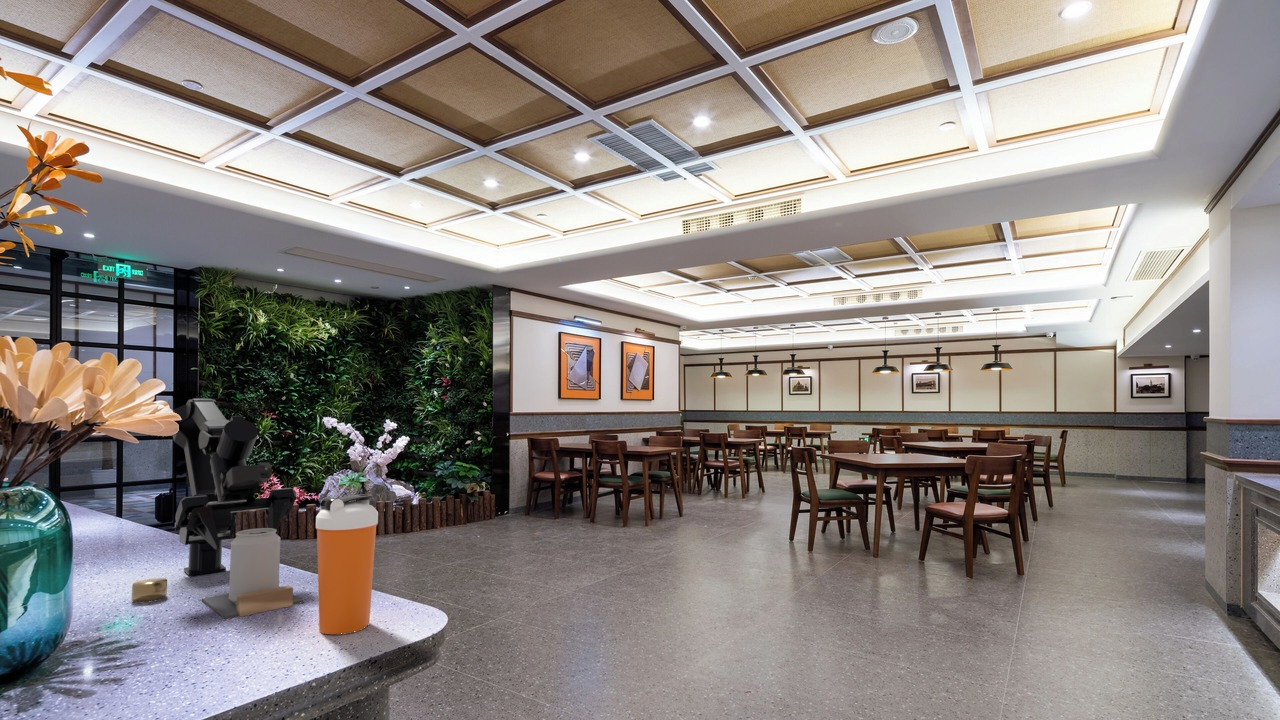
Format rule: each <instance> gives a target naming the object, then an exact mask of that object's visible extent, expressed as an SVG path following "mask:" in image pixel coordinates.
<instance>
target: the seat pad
mask: <svg viewBox="0 0 1280 720" xmlns="http://www.w3.org/2000/svg"><path fill="white" fill-rule="evenodd" d="M201 602H202V603H204V605H206V606H208V607H209V608H210V609H211V610H213V611H214V612H216V613H217V614H218V615H219V616H221V617H222V618H223V619H225V620H226V619H231V618H235V617H240V616H239V613H238V612H236V604H235V603H234V602H232V601H231V600H230V599H229V593H225V594H220V595H215V596H209V597H202V598H201ZM300 602H303V603H304V602H305V600H304V599H303V598H301V597H299V596H297V595H296V594H294V593H293V605H298V604H301V603H300Z"/></svg>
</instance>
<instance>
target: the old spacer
mask: <svg viewBox="0 0 1280 720" xmlns="http://www.w3.org/2000/svg"><path fill="white" fill-rule="evenodd" d="M131 585H132V586H131V602H132V601H133V602H132V603H134V602H145V603H150V602H149V601H152V602H156V601H155V600H157V601H160V599H161V600H163V599H165V598H167V597H168V596H167V594H168V593H167V592H168V591H167V590H168V579H167V578H164V577H158V578H149V579H142V580H138V581H136V582H133V583H132V584H131Z"/></svg>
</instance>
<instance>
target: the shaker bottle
mask: <svg viewBox="0 0 1280 720" xmlns="http://www.w3.org/2000/svg"><path fill="white" fill-rule="evenodd" d="M372 497H374V495H373V494H372V493H371V494H369V493H364V494H363V493H358V494H351V495H345V496H342V497H341V496H340V497H338V498H336V497H330V496H325V497H323V498H322V499H321V500H320V505H319V507H320V509H319V512H318V513H317V515H316V516H315V529H316V531H317V532H316V533H317V534H316V535H317V537H316V539H317V575H318V576H317V577H318V578H317V582H318V584H317V585H318V628H319V629H318V630H319V632H320V633H321V634H323V635H326V634H341V633H342V634H343V635H345V634H344V633H350V632H354V631H358V630H360V629H363V628H364V627H366V626H367V625H368V624H369V625H370V618H371V616H370V615H371V606H372V591H373V589H372V588H373V580H374V579H373V578H374V577H373V576H374V562H375V549H376V548H375V547H376V535H377V526H378V524H379V512H378V510H377V509H376V507H374V506H373V505H372V504H370V499H371V498H372ZM355 500H356V501H355ZM369 625H368V626H369ZM366 628H367V627H366ZM363 630H364V629H363ZM358 632H359V631H358ZM324 633H325V634H324ZM354 633H355V632H354ZM350 634H351V633H350Z"/></svg>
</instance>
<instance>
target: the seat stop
mask: <svg viewBox="0 0 1280 720" xmlns="http://www.w3.org/2000/svg"><path fill="white" fill-rule="evenodd" d="M293 594H294V587H293V586H291V585H284V586H279V587H278V588H272V589H267V590H262V591H256V592H251V593H246V594H241V595H237V602H236V612H238V613H239V616H238V617H244V616H249V615H252V614H258V613H263V612H267V611H268V612H269V611H272V610H277V609H282V608H283V609H284V608H287V607H292V606H293V605H294V604H293Z"/></svg>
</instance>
